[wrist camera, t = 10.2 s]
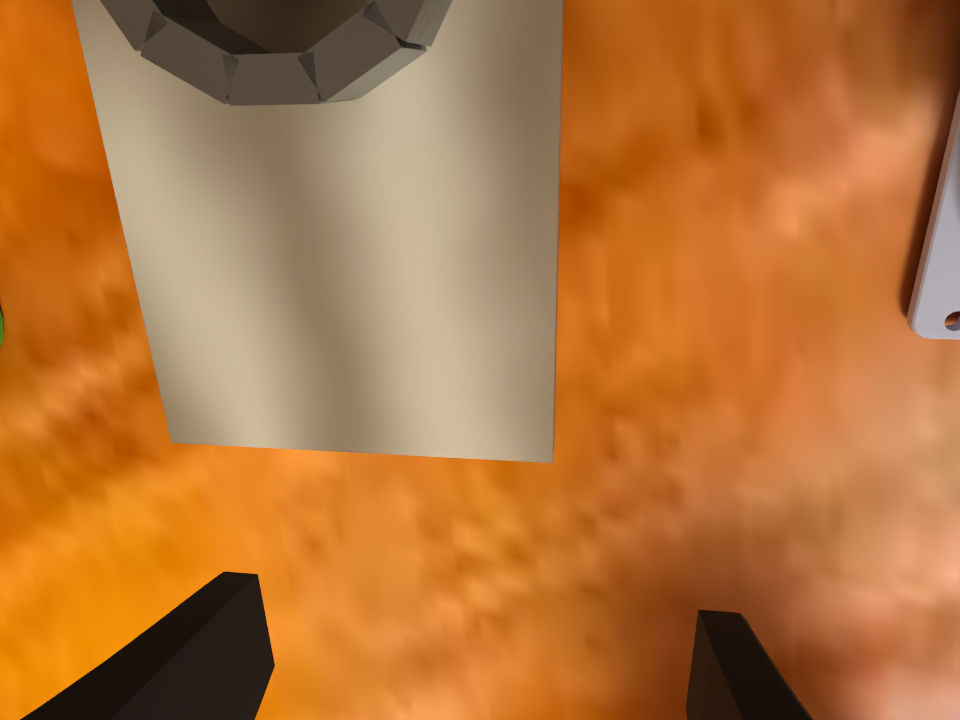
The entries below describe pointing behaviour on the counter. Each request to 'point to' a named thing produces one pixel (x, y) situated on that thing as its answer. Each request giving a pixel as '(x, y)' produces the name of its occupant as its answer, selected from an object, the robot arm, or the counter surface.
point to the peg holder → (340, 216)
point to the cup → (1, 328)
